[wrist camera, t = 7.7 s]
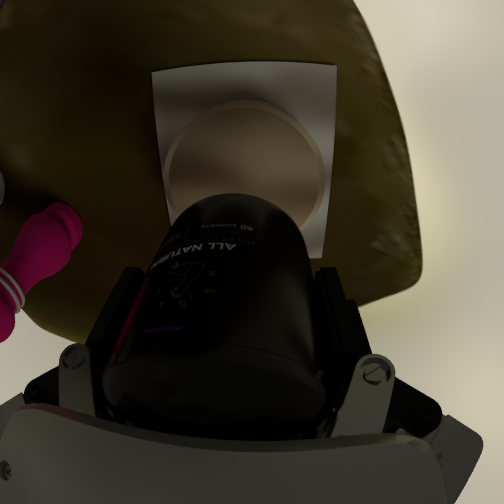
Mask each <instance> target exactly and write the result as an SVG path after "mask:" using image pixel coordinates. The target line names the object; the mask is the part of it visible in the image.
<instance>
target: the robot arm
mask: <svg viewBox="0 0 504 504" xmlns="http://www.w3.org/2000/svg"><path fill="white" fill-rule="evenodd" d="M2 2H3V0H0V7H1V5H2ZM144 276H145V273H144V272H143V271H141V270H140V268H138V267H126V268H125V269H124V271H123V272H122V274H121V276H120V278H119V279H118V281H117V283H116V285H115V286H114V288H113V290H112V292H111V294H110V296H109V297H108V299H107V301H106V303H105V305H104V307H103V309H102V310H101V312H100V314H99V316H98V318H97V320H96V322H95V324H94V326H93V328H92V330H91V332H90V334H89V336H88V338H87V341H86V343H85V345H84V344H80V343H75V344H72V345H69V346H68V347H67V348H65V350H64V351H63V352H62V353H61V356H60V359H59V366H57V367H55V368H53V369H51V370H50V371H48V372H46V373H44V374H42V375H41V376H39V377H37V378H35V379H33V380H32V381H30V383H28V385H27V386H26V388H25V391H24V394H23V393H22V392H21V393H20V394H18V395H16V396H15V397H13V398H12V399H10V400H8V401H7V402H5V403H4V404H2V405H0V504H454V503H455V502H456V500H457V498H458V497H459V495H460V493H461V492H462V490H463V488H464V487H465V485H466V483H467V481H468V479H469V477H470V475H471V474H472V472H473V470H474V468H475V465H476V463H477V462H478V459H479V457H480V455H481V453H482V450H483V440H482V438H481V436H480V435H479V434H478V433H476V432H475V431H473V430H471V429H470V428H468V427H467V426H465V425H464V424H462V423H461V422H459V421H457V420H456V419H455V418H453V417H451V416H450V415H447V416H445V415H443V414H442V410H441V407H440V405H439V404H438V403H437V402H436V401H435V400H434V399H432V398H430V397H428V396H427V395H425V394H423V393H422V392H420V391H418V390H416V389H415V388H413V387H412V386H410V385H408V384H406V383H405V382H403V381H401V380H399V379H398V378H396V377H395V368H394V366H393V364H392V363H391V361H390V360H388V359H387V358H386V357H384V356H382V355H378V354H372V352H371V348H370V345H369V342H368V338H367V335H366V332H365V329H364V325H363V323H362V319H361V316H360V313H359V310H358V307H357V304H356V302H355V300H354V299H349V300H346V298H345V294H344V291H343V288H342V285H341V282H340V279H339V276H338V273H337V270H336V268H335V267H322V268H321V269H320V271H316V273H315V279H314V283H315V288H316V293H317V299H318V304H319V309H320V315H321V320H322V326H323V331H324V337H325V343H326V349H327V355H328V362H329V368H330V375H331V382H332V390H333V403H334V411H333V416H332V419H331V422H330V425H329V427H328V429H327V431H326V432H325V434H324V435H323V437H322V438H321V439H307V440H290V441H237V440H219V439H207V438H197V437H188V436H181V435H174V434H167V433H161V432H156V431H150V430H145V429H140V428H136V427H131V426H127V425H122V424H118V423H115V422H114V420H113V419H112V418H111V416H110V414H109V413H108V411H107V409H106V406H105V403H104V400H103V397H102V391H101V377H102V373H103V370H104V367H105V364H106V360H107V358H108V355H109V353H110V350H111V348H112V346H113V343H114V341H115V339H116V336H117V334H118V332H119V329H120V327H121V325H122V323H123V320H124V318H125V316H126V314H127V312H128V309H129V307H130V305H131V303H132V301H133V299H134V297H135V295H136V293H137V290H138V288H139V286H140V284H141V282H142V280H143V278H144Z"/></svg>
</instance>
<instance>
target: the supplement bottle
mask: <svg viewBox="0 0 504 504" xmlns="http://www.w3.org/2000/svg"><path fill="white" fill-rule="evenodd" d="M101 391H102V397H103V400H104V403H105V406H106V409H107V411H108V413H109V414H110V416H111V418H112V419H113V420H114V422H115V423H118V424H122V425H127V426H131V427H136V428H140V429H145V430H150V431H156V432H161V433H167V434H174V435H181V436H188V437H197V438H207V439H219V440H237V441H290V440H307V439H321V438H322V437H323V435H324V434H325V432H326V431H327V429H328V427H329V425H330V422H331V419H332V416H333V411H334V403H333V390H332V382H331V375H330V368H329V362H328V355H327V349H326V343H325V337H324V331H323V326H322V320H321V315H320V309H319V304H318V299H317V293H316V288H315V283H314V278H313V273H312V269H311V264H310V259H309V255H308V251H307V247H306V244H305V240H304V238H303V235H302V233H301V231H300V229H299V227H298V226H297V224H296V223H295V222H294V220H293V219H292V218H291V217H290V216H289V215H288V214H287V213H286V212H285V211H284V210H282V209H281V208H280V207H278V206H277V205H275V204H273V203H272V202H270V201H268V200H265V199H263V198H260V197H257V196H253V195H249V194H243V193H223V194H217V195H213V196H209V197H206V198H204V199H202V200H199V201H197V202H195V203H194V204H192V205H191V206H189V207H188V208H187V209H185V210H184V211H183V212H182V213H181V214H180V215H179V217H178V218H177V219H176V220H175V222H174V223H173V225H172V226H171V228H170V230H169V231H168V233H167V235H166V236H165V238H164V240H163V242H162V244H161V245H160V247H159V249H158V251H157V253H156V255H155V257H154V259H153V261H152V263H151V264H150V266H149V268H148V270H147V272H146V274H145V276H144V278H143V280H142V282H141V284H140V286H139V288H138V290H137V293H136V295H135V297H134V299H133V301H132V303H131V305H130V307H129V309H128V312H127V314H126V316H125V318H124V320H123V323H122V325H121V327H120V329H119V332H118V334H117V336H116V339H115V341H114V343H113V346H112V348H111V350H110V353H109V355H108V358H107V360H106V364H105V367H104V370H103V373H102V377H101Z"/></svg>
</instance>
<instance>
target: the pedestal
mask: <svg viewBox="0 0 504 504" xmlns="http://www.w3.org/2000/svg"><path fill="white" fill-rule="evenodd" d="M336 72H337V66H333V65H323V64H313V63H298V62H231V63H217V64H206V65H197V66H189V67H181V68H175V69H168V70H163V71H157V72H152V85H153V98H154V109H155V119H156V128H157V137H158V145H159V153H160V160H161V167H162V174H163V181H164V189H165V194H166V200H167V205H168V211H169V217H170V222H171V226H172V225H173V223H174V222H175V220H176V219H177V218H178V217H179V215H180V214H181V213H182V212H183V211H184V210H185V209H187V208H188V207H189V206H191V205H192V204H194V203H195V202H197V201H199V200H202V199H204V198H206V197H209V196H213V195H217V194H223V193H243V194H249V195H253V196H257V197H260V198H263V199H265V200H268V201H270V202H272V203H273V204H275V205H277V206H278V207H280V208H281V209H282V210H284V211H285V212H286V213H287V214H288V215H289V216H290V217H291V218H292V219H293V220H294V222H295V223H296V224H297V226H298V227H299V229H300V231H301V233H302V235H303V238H304V240H305V244H306V247H307V251H308V255H309V258H321V257H322V250H323V243H324V236H325V228H326V220H327V211H328V202H329V193H330V183H331V172H332V160H333V147H334V131H335V111H336Z"/></svg>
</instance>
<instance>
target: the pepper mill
mask: <svg viewBox="0 0 504 504" xmlns="http://www.w3.org/2000/svg"><path fill="white" fill-rule="evenodd" d="M82 235H83V227H82V223H81V220H80V218H79V216H78V214H77V213H76V212H75V210H74V209H73V208H72V207H70V206H69V205H67V204H65V203H63V202H55V203H52V204H51V205H50V206H49V207H47V208H46V209H45V210H44V211H43V212H42V213H37V214H34V215H32V216H31V217H30V218H29V219H28V220H27V221H26V222H25V224H24V225H23V227H22V228H21V230H20V232H19V234H18V237H17V240H16V242H15V245H14V247H13V249H12V251H11V253H10V255H9V257H8V258H7V259H6V260H5V262H4V263H3V264H2V265H1V266H0V343H1V342H3V341H5V340H6V339H7V338H8V337H9V336H10V335H11V333H12V331H13V329H14V326H15V314H16V313H19V312H20V309H21V307H23V306H24V304H25V296H26V294H27V292H28V291H29V290H30V289H31V288H32V287H33V285H34V284H35V283H37V282H38V281H40V280H41V279H43V278H46V277H48V276H50V275H53V274H55V273H56V272H58V271H59V270H61V269H62V268H63V267H64V266H65V265H66V264H67V262H68V261H69V258H70V256H71V250H72V249H74V247H75V246H76V245H77V244H78V243H79V242H80V240H81V238H82Z"/></svg>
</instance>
